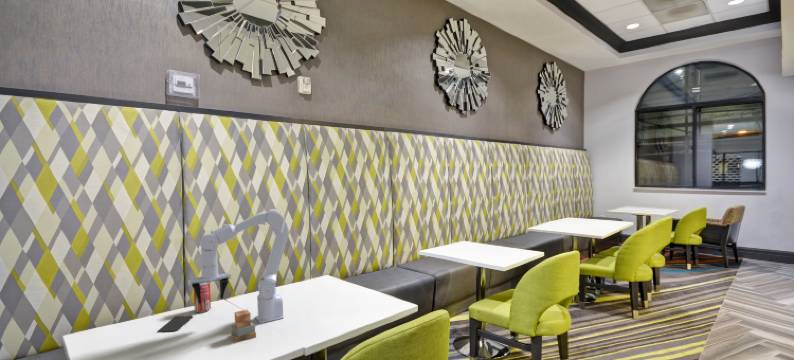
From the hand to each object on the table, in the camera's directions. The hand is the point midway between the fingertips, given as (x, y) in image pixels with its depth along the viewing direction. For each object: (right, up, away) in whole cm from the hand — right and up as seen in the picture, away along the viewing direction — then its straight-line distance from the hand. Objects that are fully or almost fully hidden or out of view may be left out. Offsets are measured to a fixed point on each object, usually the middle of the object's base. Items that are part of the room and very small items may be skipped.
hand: (210, 300), depth 151 cm
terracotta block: (+16, -6, -8) cm, 19 cm away
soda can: (-12, -10, +19) cm, 24 cm away
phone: (-16, -11, +4) cm, 20 cm away
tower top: (+16, -9, -8) cm, 20 cm away
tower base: (+16, -11, -8) cm, 21 cm away
